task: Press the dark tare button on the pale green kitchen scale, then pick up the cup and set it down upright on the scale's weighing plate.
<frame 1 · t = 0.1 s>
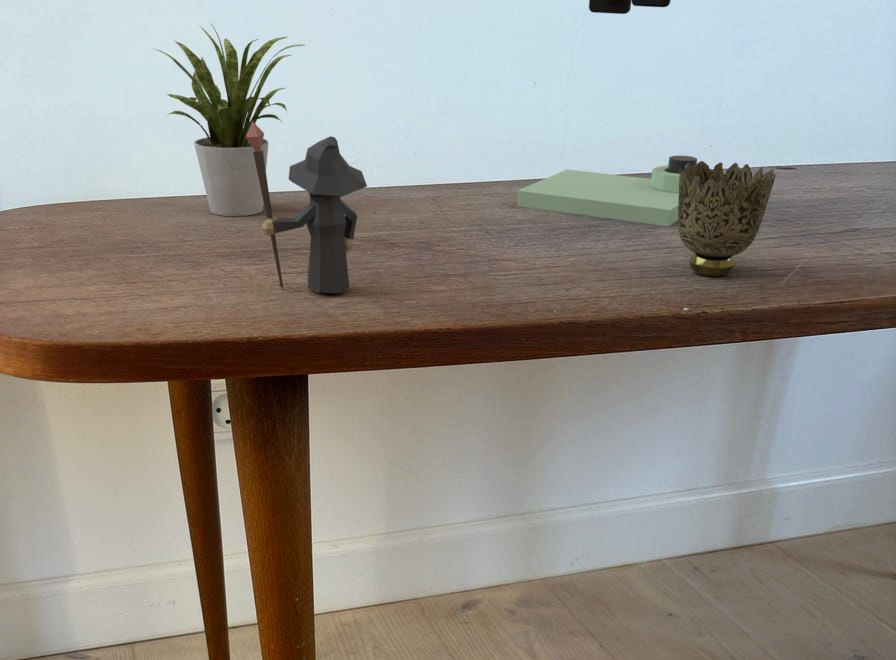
hand: (630, 9, 85), 18 cm above the table, tool pointing down, fingers open, 9 cm apart
scale: (613, 204, 109), on the table
wizard figurine: (314, 294, 82), on the table
tare button: (682, 166, 107), point 4 cm above the table, slide at 0.1 cm
house plant: (250, 211, 105), on the table
cup: (710, 274, 88), on the table
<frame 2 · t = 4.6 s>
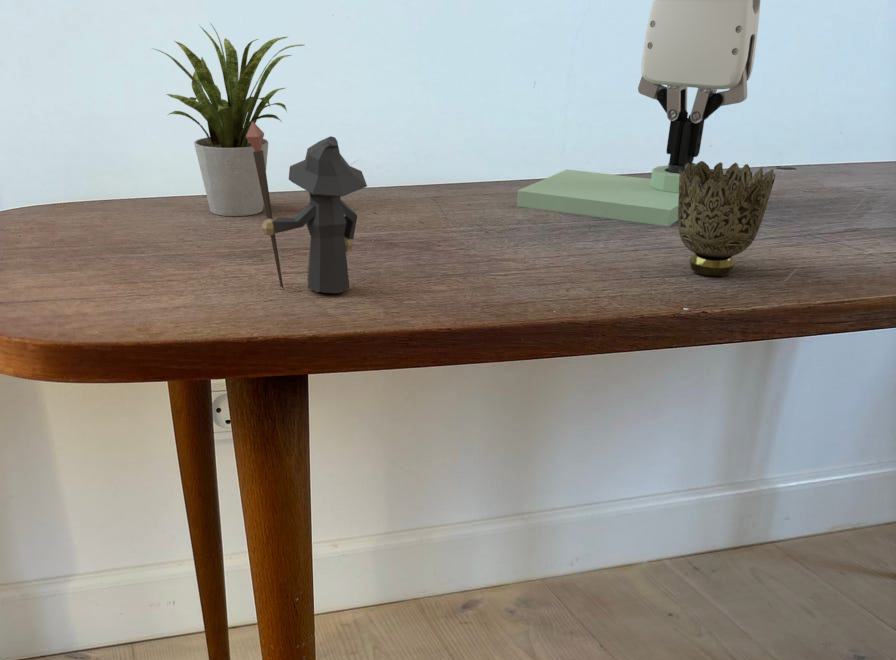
hand: (681, 163, 107), 4 cm above the table, tool pointing down, fingers closed
tare button: (681, 171, 108), point 3 cm above the table, slide at -0.4 cm, touching gripper
everything else where it was.
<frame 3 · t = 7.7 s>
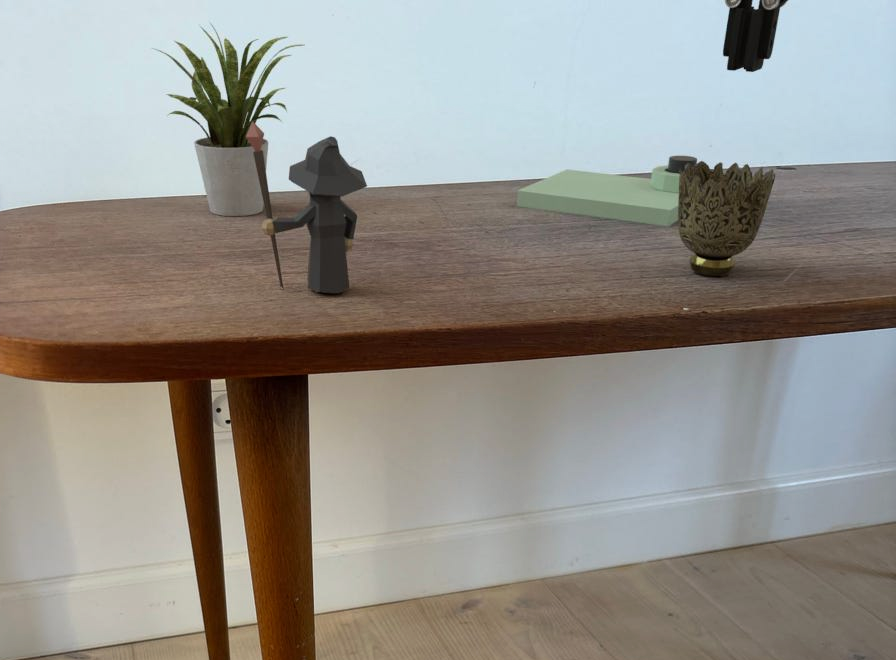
hand: (744, 68, 80), 15 cm above the table, tool pointing down, fingers closed
tare button: (682, 166, 107), point 4 cm above the table, slide at 0.1 cm
everything else where it was.
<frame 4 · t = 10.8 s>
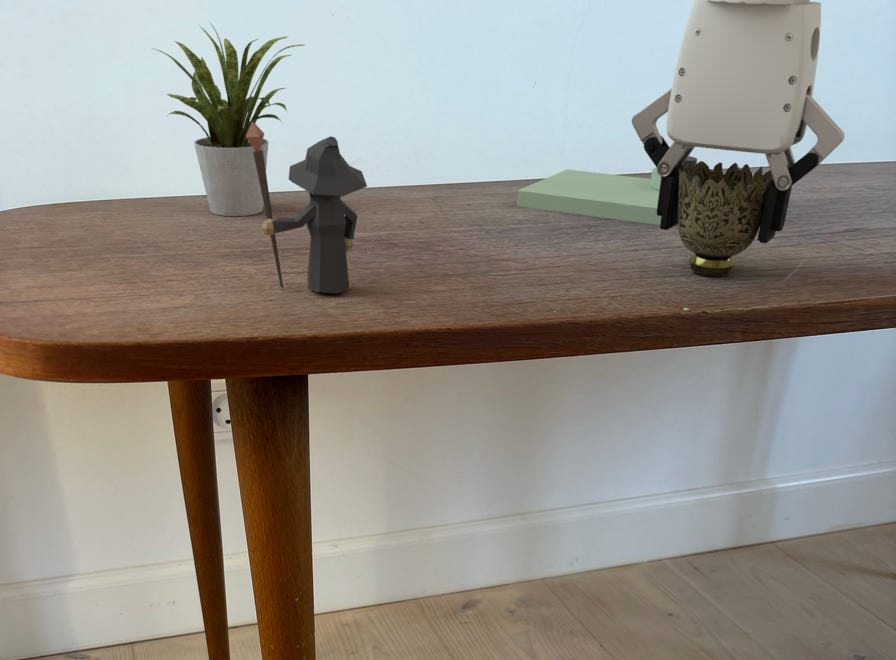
hand: (717, 231, 86), 3 cm above the table, tool pointing down, fingers closed on cup, 7 cm apart
cup: (709, 274, 88), on the table, touching gripper
everything else where it was.
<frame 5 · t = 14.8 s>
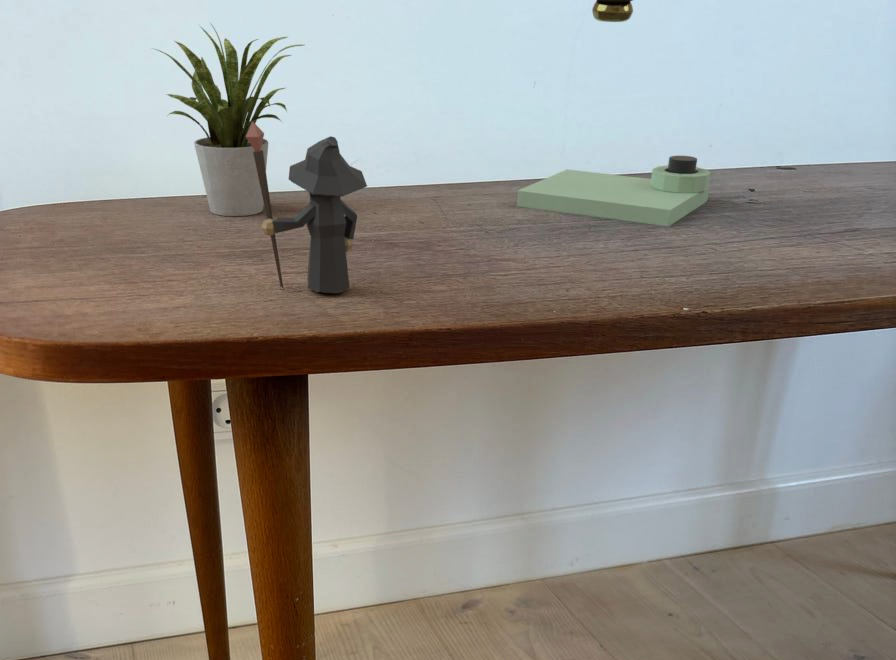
cup: (611, 23, 97), point 16 cm above the table, touching gripper
everything else where it was.
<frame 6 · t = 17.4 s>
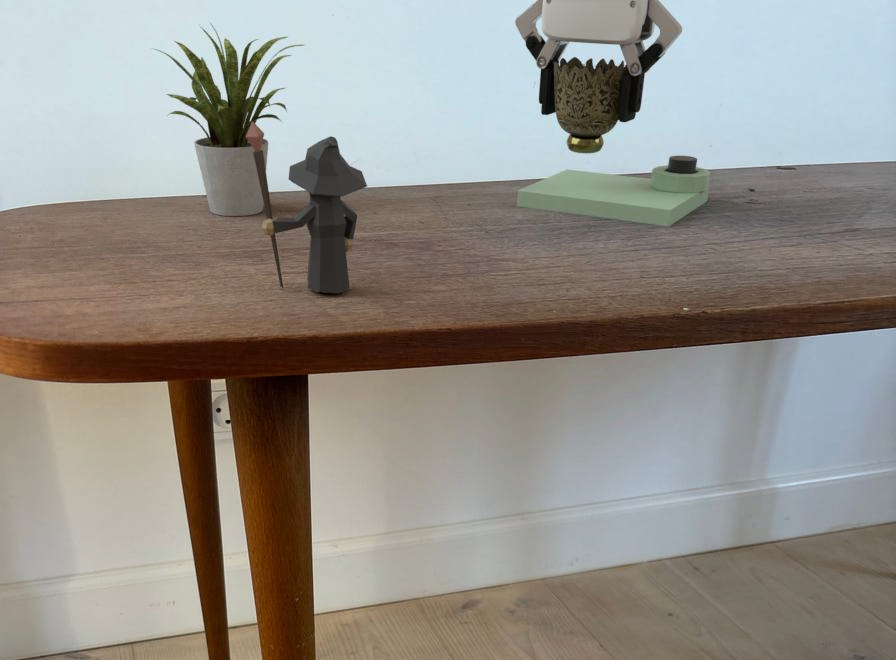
hand: (587, 115, 104), 8 cm above the table, tool pointing down, fingers closed on cup, 7 cm apart
cup: (584, 153, 106), point 5 cm above the table, touching gripper
everything else where it was.
when the fingers open (5 cm above the table, at t = 19.2 s): cup stays where it is, resting on scale.
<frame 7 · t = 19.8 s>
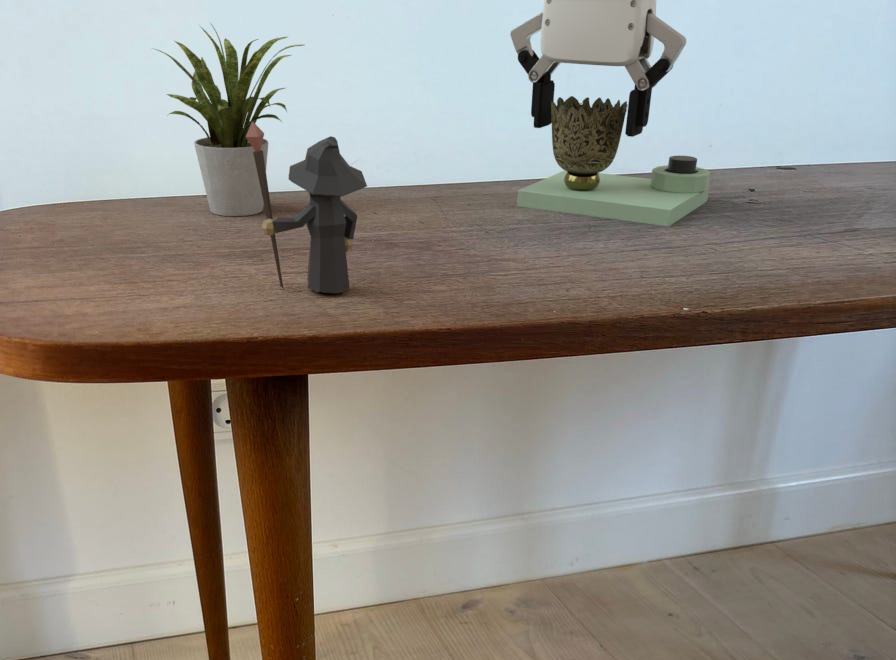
hand: (587, 130, 104), 7 cm above the table, tool pointing down, fingers open, 9 cm apart
cup: (581, 190, 108), point 1 cm above the table, touching scale
everything else where it was.
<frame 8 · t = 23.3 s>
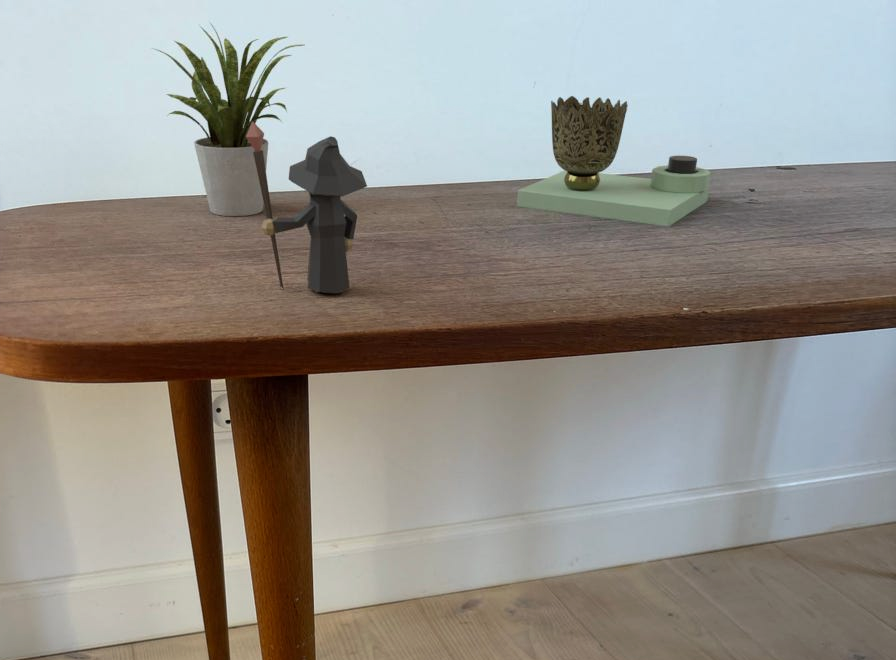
nothing on the table moved.
at the end: tare button pushed in 0.9 cm at the most during the clip, back to where it started at the end; cup inside the target area on the scale (1.3 cm from its centre), point 1.4 cm above the scale's base; cup tilted 0° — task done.
